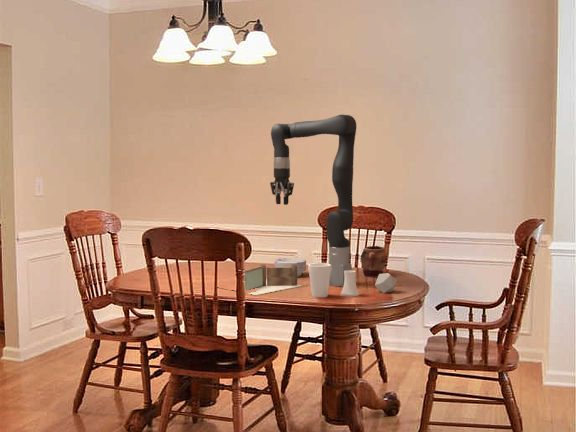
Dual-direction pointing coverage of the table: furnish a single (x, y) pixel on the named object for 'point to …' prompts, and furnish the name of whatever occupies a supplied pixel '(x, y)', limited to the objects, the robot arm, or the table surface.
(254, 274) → the green rectangular panel
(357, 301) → the table surface
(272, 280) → the fence post and fixed section
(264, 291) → the card
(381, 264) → the decorative planter
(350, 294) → the salt shaker
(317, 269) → the foam cup
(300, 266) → the paper bowls
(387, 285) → the die
